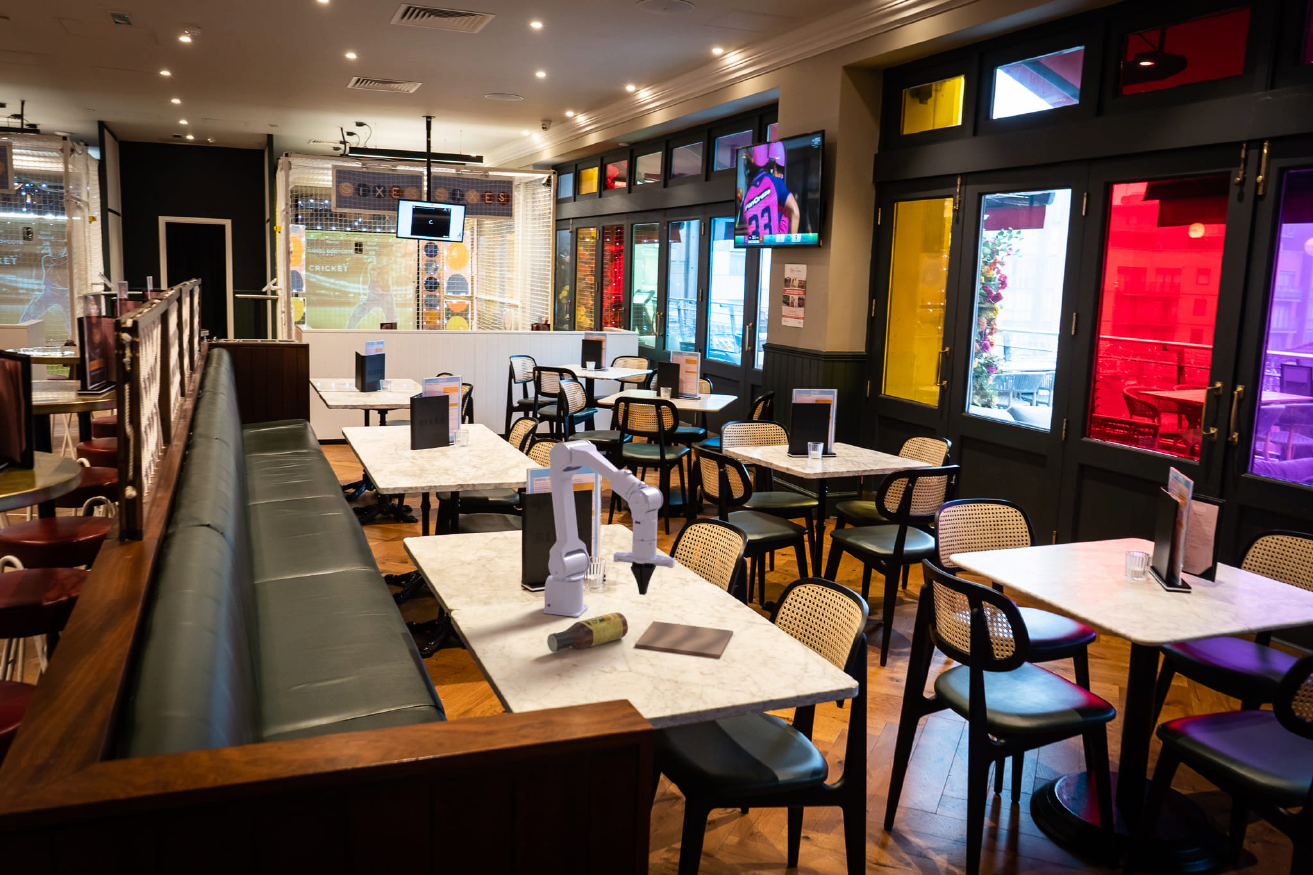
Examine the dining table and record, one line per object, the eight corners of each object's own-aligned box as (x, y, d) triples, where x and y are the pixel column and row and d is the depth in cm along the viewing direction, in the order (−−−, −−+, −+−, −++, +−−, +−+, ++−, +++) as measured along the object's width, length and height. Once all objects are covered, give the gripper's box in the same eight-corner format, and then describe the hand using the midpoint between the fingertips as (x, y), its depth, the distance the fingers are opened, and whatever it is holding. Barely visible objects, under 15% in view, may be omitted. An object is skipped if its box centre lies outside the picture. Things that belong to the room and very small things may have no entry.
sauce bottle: (626, 609, 220) (558, 627, 207) (631, 636, 219) (564, 655, 206) (609, 612, 225) (542, 630, 212) (614, 638, 224) (547, 657, 211)
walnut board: (635, 647, 216) (635, 643, 216) (653, 624, 231) (653, 621, 231) (720, 658, 211) (720, 654, 211) (733, 633, 226) (733, 630, 226)
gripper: (610, 539, 218) (608, 595, 220) (670, 545, 215) (668, 602, 217) (619, 531, 225) (617, 586, 227) (677, 537, 221) (675, 592, 224)
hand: (643, 593), depth 222 cm, fingers closed
